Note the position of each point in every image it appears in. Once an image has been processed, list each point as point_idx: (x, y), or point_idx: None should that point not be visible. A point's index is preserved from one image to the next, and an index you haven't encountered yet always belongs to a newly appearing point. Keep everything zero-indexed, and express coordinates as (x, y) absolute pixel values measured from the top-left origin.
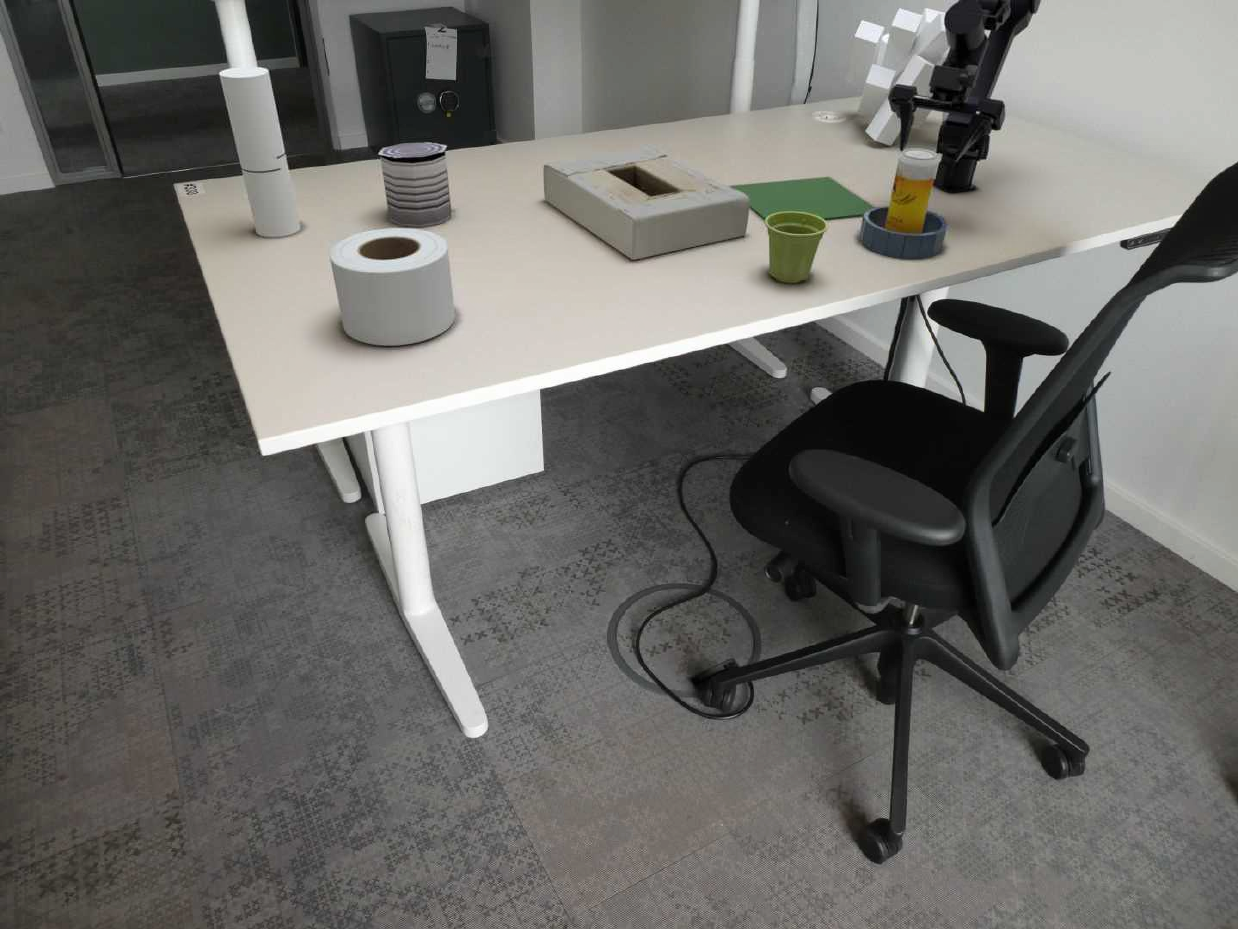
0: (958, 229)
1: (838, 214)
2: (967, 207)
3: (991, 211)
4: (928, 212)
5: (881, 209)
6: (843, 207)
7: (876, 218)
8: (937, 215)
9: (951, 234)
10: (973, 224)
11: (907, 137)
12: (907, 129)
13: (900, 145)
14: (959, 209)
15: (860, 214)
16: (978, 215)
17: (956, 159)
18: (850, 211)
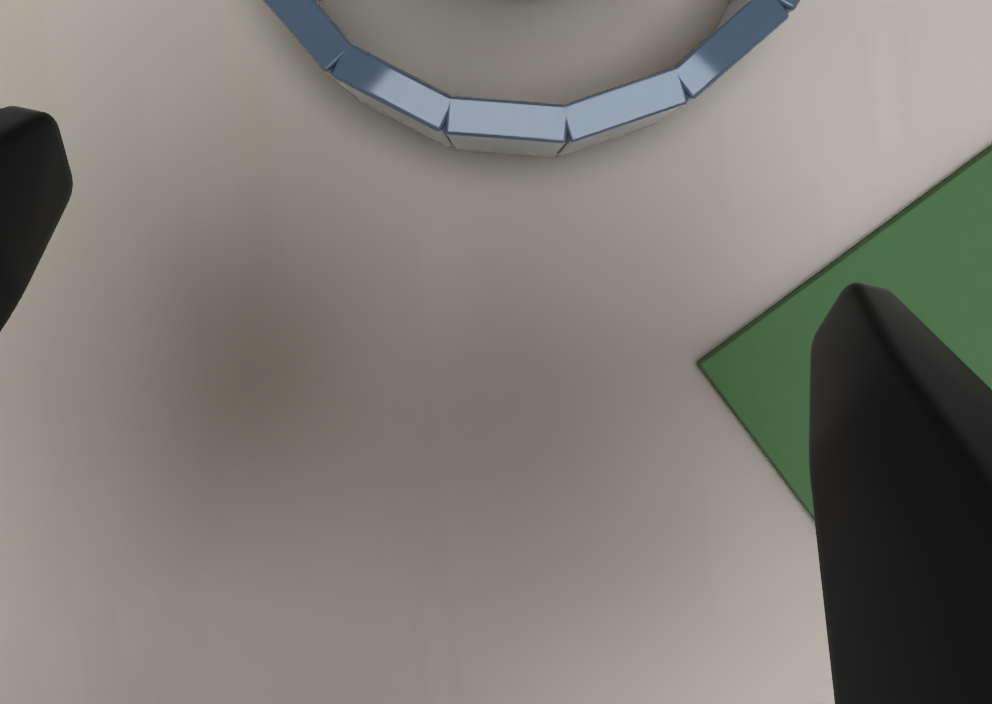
0: (189, 285)
1: (980, 198)
2: (182, 696)
3: (37, 683)
4: (368, 54)
5: (736, 13)
6: (953, 351)
7: (740, 4)
8: (292, 15)
9: (221, 174)
10: (112, 413)
11: (849, 548)
12: (969, 535)
13: (905, 312)
14: (224, 643)
15: (831, 267)
16: (102, 584)
17: (14, 109)
18: (902, 293)
